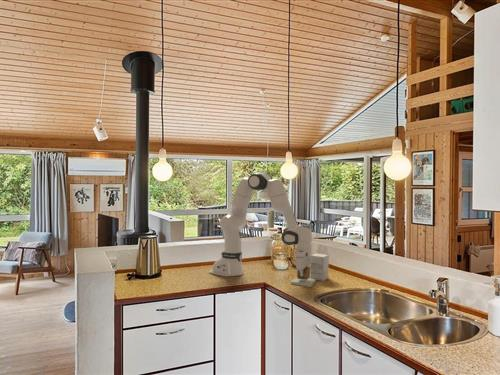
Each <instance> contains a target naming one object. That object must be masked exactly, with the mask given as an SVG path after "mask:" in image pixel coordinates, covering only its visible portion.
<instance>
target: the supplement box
mask: <svg viewBox="0 0 500 375" xmlns="http://www.w3.org/2000/svg"><path fill="white" fill-rule="evenodd" d="M329 262H330V261H329V254H324V253H315V254H314V253H313V254H311V264H310V278H309V279H316V281H321V282H324V281H326V280H327V279H329Z"/></svg>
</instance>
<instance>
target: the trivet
mask: <svg viewBox="0 0 500 375" xmlns="http://www.w3.org/2000/svg"><path fill="white" fill-rule="evenodd" d="M316 281H317V280H316V279H310V278H309V279H307V280H304V279H297V276H296V277H295V278H293V280H291V281H290V285H295V286H300V287H301V286H302V287H309V288H310V287H311V288H312V286H313V285H314V284H316Z"/></svg>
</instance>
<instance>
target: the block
mask: <svg viewBox="0 0 500 375" xmlns="http://www.w3.org/2000/svg"><path fill="white" fill-rule="evenodd" d="M296 271H297V275H296V277H297V279H304V280H307V279H310V273H311V267H309V266H308V267H306V268H304V269H303V273H304V275H303V276H300V271H299V270H297V269H296Z"/></svg>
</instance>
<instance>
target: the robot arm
mask: <svg viewBox="0 0 500 375" xmlns="http://www.w3.org/2000/svg"><path fill="white" fill-rule="evenodd" d="M263 190H264V191H265V192H266V193H267V195H268V199H269V201H270V202H269V203H270V204H271V206H272V208H273V209H274V210H275V211H277V212H279V213H280V214H281V215H282V216H283V218H284V220H285V222H286V226H287V228H288V229H286V230H284V231H283V232H282V233H281V241H282V243H283V244H284V245H286V246H294V245H295V246H296V250H295V253H294V257H295V269H296V271H297V270H299V271H300V276H303V275H304V273H303V269H304V268H306V267H308V268H309V266H311V255H312V250H313V249H312V248H313V246H312V239H313V234H312V228H311V226H309V225H307V224H304V223H303V224H302V223H301V224H298V221H297V219H296V216H295V214H294V211H293V209H292V207H291V204H290V201H289V196H288V193H287V191H286V188H285V186H284V183H283V182H282V181H281V179H279V178H273V177H272V176H271V175H270V174H269V173H266V172H254V173H251V175H249V177H243V178H241V180H240V181H239V182H238V184H237V187H236V189H235V191H234V195H233V197H232V200H231V203H230V204H231V212H230V214H225V215H223V217H221V218H220V219H219V227H220V229H221V230H222V233H223V238H224V250H223V251H222V252H221V254H220V256H221V257H220V258H218V259H217V260H216V261H214V263H213V265H212V269H210V270H209V271H208V273H209V274H213V275H216V276H223V277H234V276H235V277H237V276H241V275H244V269H243V263H242V261H243V252H242V242H243V241H242V238H241V236H240V232H239V230H242V229H243V228H244V227H245V226H246V225H247V221H248V220H247V214H248V209H249V206H250V202H251V199H252V196H253V194H254V192H255V191H263Z"/></svg>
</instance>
